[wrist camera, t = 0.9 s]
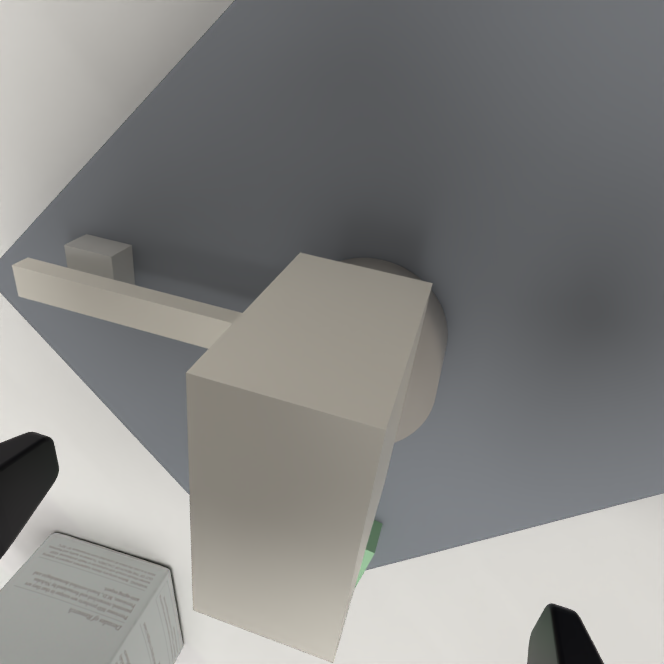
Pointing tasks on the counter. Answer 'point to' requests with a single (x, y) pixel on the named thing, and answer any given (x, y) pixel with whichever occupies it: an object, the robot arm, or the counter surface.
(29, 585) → the supplement box
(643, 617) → the counter surface
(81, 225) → the dial plate
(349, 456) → the tuning peg
